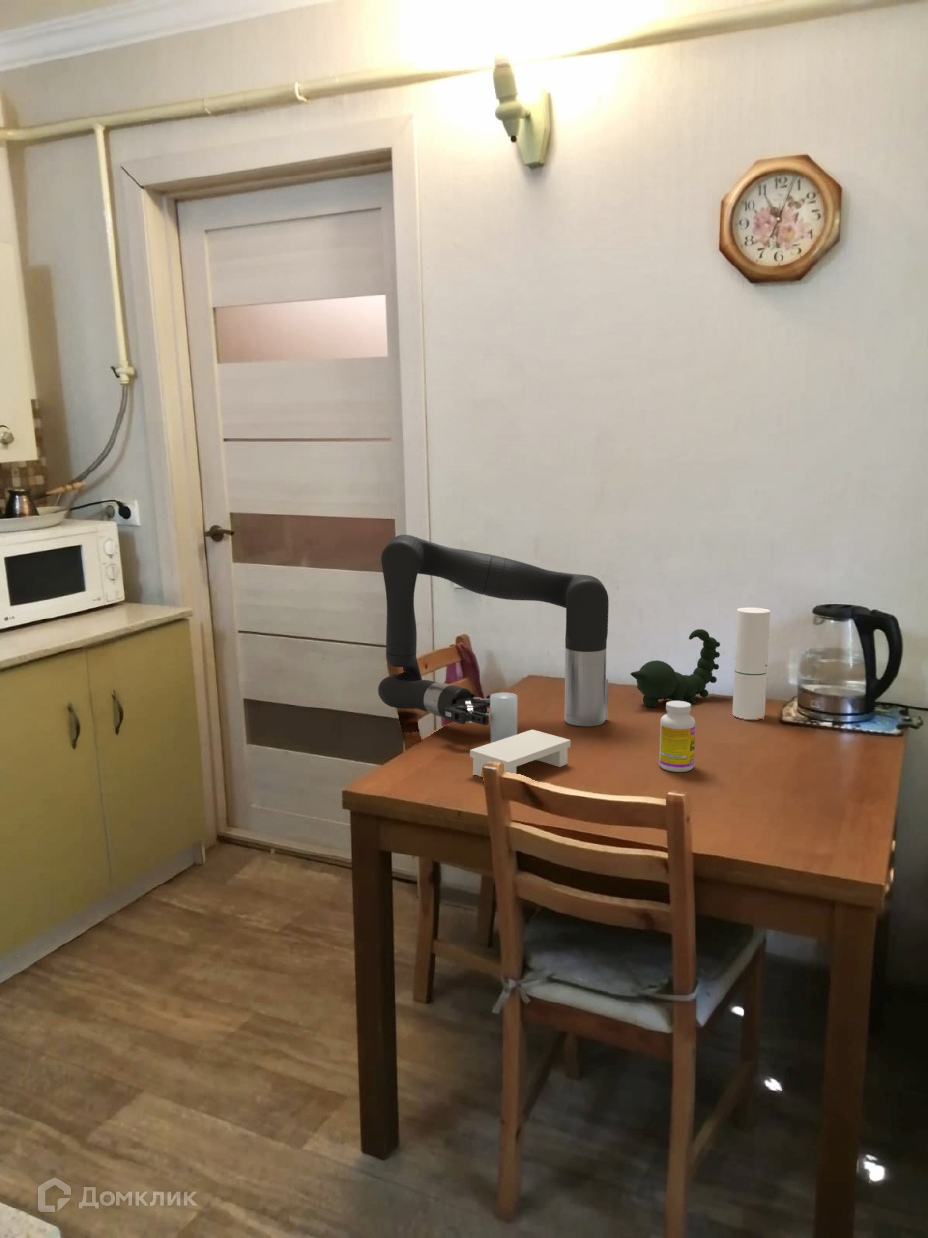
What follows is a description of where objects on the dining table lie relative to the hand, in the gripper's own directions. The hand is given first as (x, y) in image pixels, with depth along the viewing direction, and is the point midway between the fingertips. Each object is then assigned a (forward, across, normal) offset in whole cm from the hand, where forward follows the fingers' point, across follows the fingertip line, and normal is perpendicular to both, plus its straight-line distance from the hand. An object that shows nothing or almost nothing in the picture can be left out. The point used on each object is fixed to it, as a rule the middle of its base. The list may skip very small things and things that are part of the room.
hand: (502, 716), depth 193 cm
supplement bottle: (+34, +14, +7) cm, 37 cm away
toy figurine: (+7, +53, +7) cm, 54 cm away
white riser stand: (+13, -8, +6) cm, 16 cm away
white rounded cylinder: (+1, 0, +7) cm, 7 cm away
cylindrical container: (+26, +55, +7) cm, 61 cm away
